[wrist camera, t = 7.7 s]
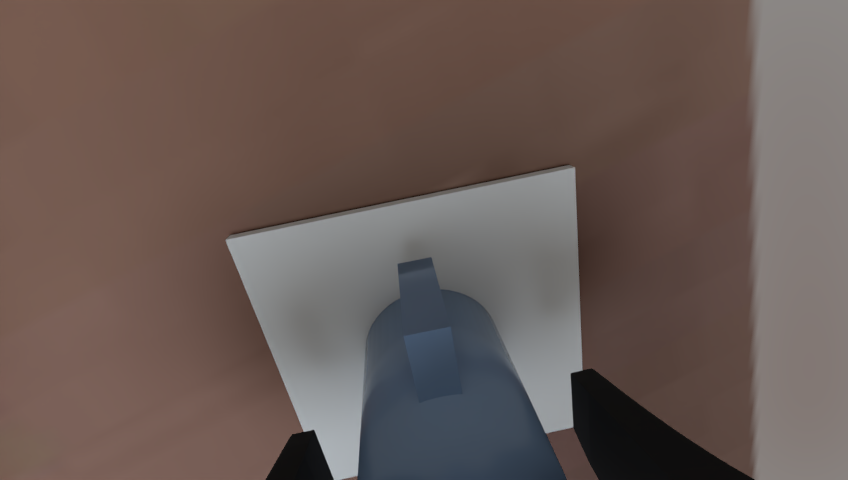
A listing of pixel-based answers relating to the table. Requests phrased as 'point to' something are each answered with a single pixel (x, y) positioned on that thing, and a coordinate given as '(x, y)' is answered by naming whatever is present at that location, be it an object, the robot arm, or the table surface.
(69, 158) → the table surface
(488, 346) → the blue-grey mug
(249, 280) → the mat
